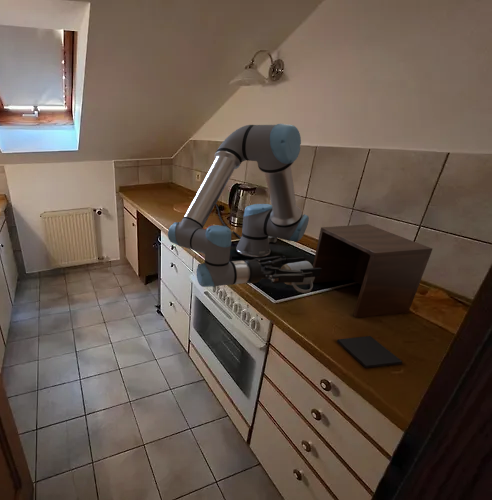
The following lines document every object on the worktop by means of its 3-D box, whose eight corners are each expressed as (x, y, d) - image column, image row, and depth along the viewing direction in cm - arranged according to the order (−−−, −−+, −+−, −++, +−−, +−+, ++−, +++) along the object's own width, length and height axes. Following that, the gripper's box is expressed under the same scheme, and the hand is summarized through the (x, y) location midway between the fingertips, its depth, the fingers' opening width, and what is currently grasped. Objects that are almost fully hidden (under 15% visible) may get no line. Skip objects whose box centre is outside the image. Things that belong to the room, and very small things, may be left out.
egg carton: (255, 236, 162) (256, 229, 160) (269, 235, 162) (270, 228, 160) (263, 243, 152) (264, 236, 150) (278, 242, 152) (279, 235, 151)
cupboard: (309, 281, 115) (320, 227, 106) (352, 278, 117) (367, 224, 108) (355, 317, 93) (375, 253, 85) (408, 312, 95) (432, 248, 86)
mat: (336, 341, 84) (337, 339, 83) (369, 338, 85) (370, 335, 84) (365, 368, 75) (366, 365, 74) (401, 363, 75) (402, 361, 75)
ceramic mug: (277, 278, 103) (280, 258, 100) (299, 276, 104) (303, 257, 101) (294, 295, 94) (299, 273, 91) (319, 293, 94) (324, 271, 91)
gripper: (231, 268, 107) (292, 263, 109) (258, 298, 88) (330, 292, 90) (233, 249, 104) (295, 244, 106) (261, 276, 85) (336, 270, 87)
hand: (311, 266), depth 98 cm, fingers closed on ceramic mug, 7 cm apart
